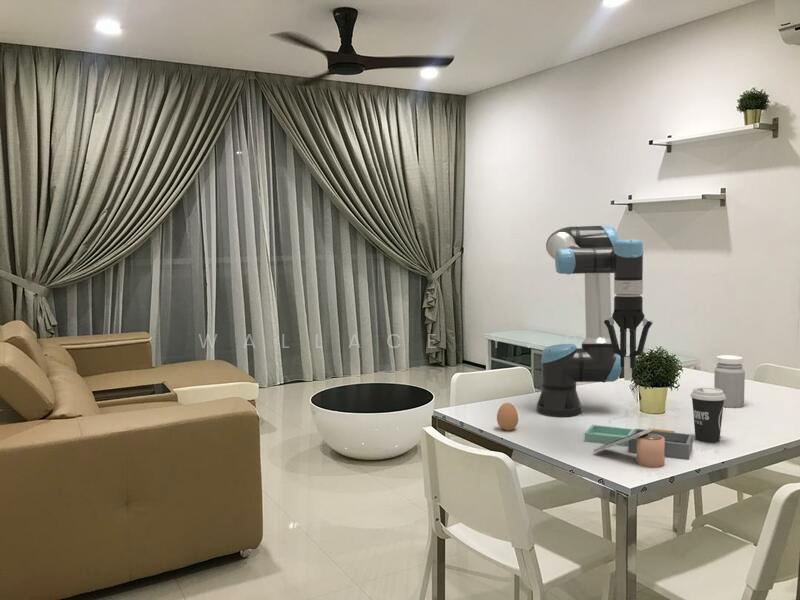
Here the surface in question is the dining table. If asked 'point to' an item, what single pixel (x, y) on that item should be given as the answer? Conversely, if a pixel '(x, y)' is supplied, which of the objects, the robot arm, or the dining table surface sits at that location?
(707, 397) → the coffee cup
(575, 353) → the robot arm
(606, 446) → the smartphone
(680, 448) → the grey storage tray
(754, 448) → the dining table surface
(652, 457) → the salmon cylinder
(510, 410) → the egg
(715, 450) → the dining table surface
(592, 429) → the trough
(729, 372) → the jar
